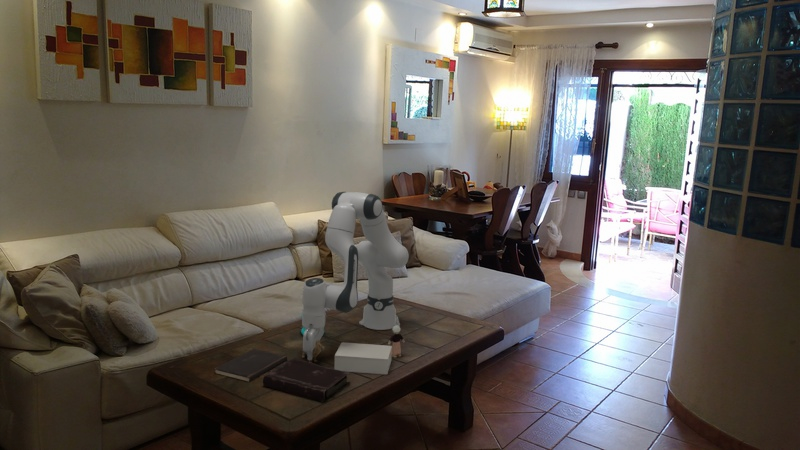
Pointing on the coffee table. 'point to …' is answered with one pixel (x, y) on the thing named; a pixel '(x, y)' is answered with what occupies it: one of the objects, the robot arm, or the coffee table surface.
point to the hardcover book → (251, 365)
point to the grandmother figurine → (396, 341)
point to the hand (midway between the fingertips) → (313, 354)
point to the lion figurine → (315, 351)
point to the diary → (306, 379)
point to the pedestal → (363, 358)
